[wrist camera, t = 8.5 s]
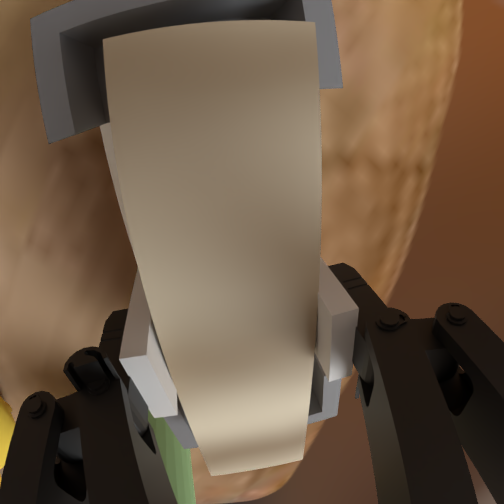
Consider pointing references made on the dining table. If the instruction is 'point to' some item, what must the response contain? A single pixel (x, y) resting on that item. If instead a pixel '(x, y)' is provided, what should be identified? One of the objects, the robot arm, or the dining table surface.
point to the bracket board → (96, 104)
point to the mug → (174, 460)
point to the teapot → (5, 430)
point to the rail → (226, 221)
